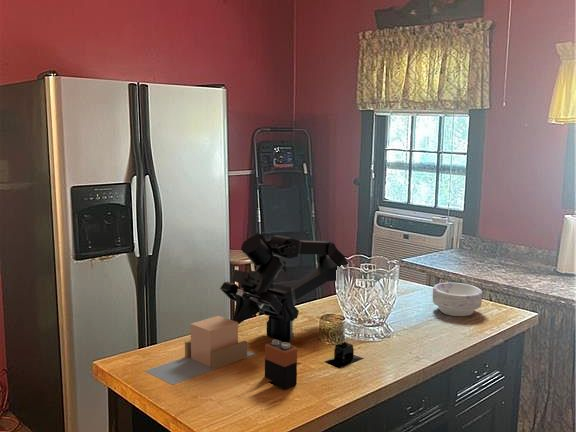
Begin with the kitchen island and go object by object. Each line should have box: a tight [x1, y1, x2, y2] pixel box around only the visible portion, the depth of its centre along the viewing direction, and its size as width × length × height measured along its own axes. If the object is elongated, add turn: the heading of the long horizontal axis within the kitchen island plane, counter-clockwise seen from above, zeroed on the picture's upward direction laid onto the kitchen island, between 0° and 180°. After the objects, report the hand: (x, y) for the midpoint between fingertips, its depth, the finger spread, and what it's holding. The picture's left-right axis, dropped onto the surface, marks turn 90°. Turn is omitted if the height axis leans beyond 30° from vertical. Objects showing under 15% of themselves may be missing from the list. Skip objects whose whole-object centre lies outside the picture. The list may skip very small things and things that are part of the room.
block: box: [190, 315, 239, 367], centre depth 153 cm, size 9×8×9 cm
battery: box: [264, 339, 298, 390], centre depth 142 cm, size 4×7×10 cm, turn 45°
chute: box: [144, 339, 256, 386], centre depth 151 cm, size 26×11×5 cm, turn 137°
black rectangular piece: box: [323, 341, 365, 369], centre depth 156 cm, size 12×7×5 cm, turn 133°
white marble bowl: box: [432, 282, 483, 317], centre depth 196 cm, size 15×15×8 cm
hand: (233, 324), depth 158 cm, fingers closed
